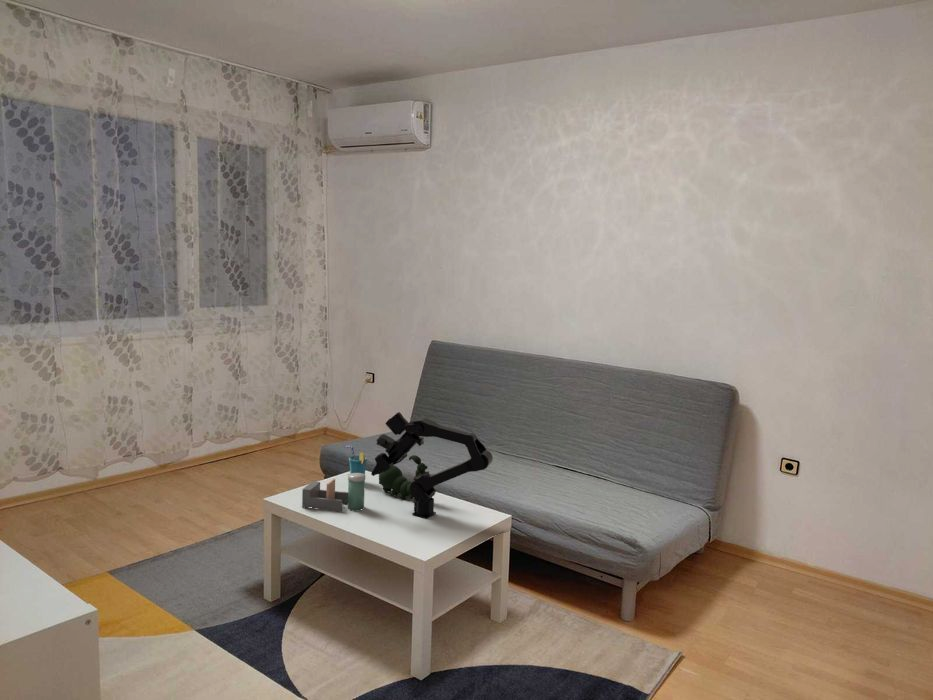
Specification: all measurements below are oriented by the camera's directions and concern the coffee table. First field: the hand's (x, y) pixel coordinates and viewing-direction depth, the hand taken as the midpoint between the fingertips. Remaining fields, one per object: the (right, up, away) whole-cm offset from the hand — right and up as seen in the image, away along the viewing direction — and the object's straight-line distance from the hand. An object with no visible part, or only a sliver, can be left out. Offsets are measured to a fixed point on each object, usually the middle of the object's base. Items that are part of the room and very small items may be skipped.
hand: (377, 471), depth 252 cm
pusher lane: (-19, -13, +2) cm, 23 cm away
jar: (-8, -14, 0) cm, 16 cm away
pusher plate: (-17, -13, +2) cm, 22 cm away
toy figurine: (+7, -13, +17) cm, 22 cm away
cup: (-13, -10, +31) cm, 35 cm away
